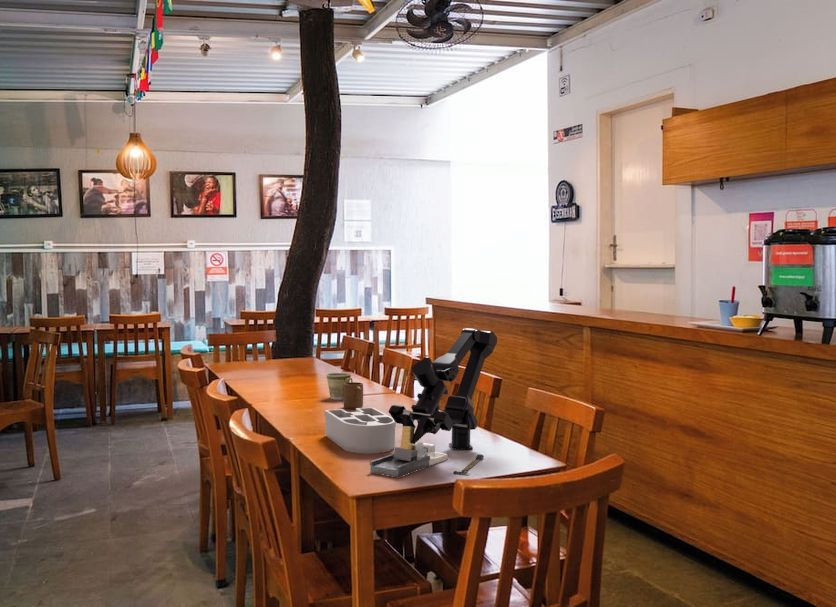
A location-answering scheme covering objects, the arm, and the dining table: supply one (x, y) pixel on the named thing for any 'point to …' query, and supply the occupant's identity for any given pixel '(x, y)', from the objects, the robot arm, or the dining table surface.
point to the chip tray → (438, 458)
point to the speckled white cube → (429, 450)
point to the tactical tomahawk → (469, 465)
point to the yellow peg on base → (406, 445)
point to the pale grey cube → (418, 447)
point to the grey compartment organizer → (361, 430)
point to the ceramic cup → (337, 384)
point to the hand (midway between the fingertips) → (408, 442)
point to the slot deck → (397, 465)
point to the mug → (353, 395)
